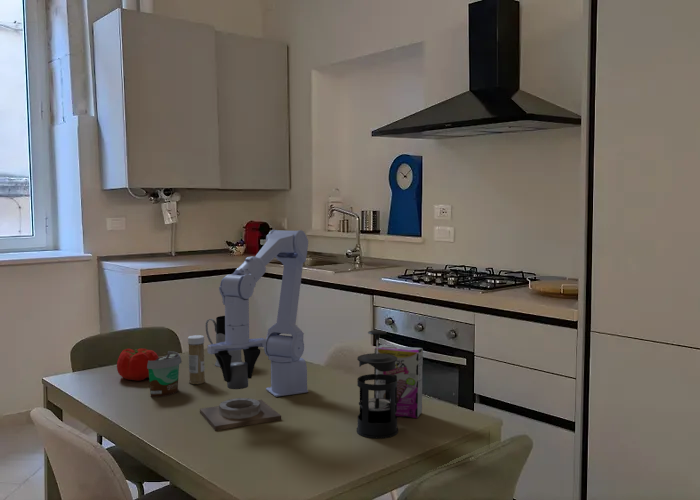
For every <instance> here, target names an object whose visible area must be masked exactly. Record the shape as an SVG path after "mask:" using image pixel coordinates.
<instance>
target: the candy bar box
mask: <svg viewBox="0 0 700 500" xmlns="http://www.w3.org/2000/svg"><path fill="white" fill-rule="evenodd" d="M374 353H377V346H376V347H375V348H374ZM378 353H381V354H390V355H393V356H396V357H397V361H396V362H395V369H393V370H391V371H385V372H382V371H379V370H378V374H385V375H389V374H392V375H396V376H397V412H396V413H395V415H396V416H397V417H401V418H409V419H411V418H412V419H418V418H419V417H420V416H421V414H422V413H423V362H424V361H423V359H424V358H423V357H424V355H423V354H424V349H423V347H412V346H402V345H401V346H400V345H390V344H378ZM373 369H374V372H373V374H376V368H374V367H373ZM373 382H374V383H373V385H376V380H374V381H373ZM382 384H385V380H378V385H382ZM373 398H376V391H374V392H373ZM378 398H385V390H383V391H378Z"/></svg>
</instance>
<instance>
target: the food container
mask: <svg viewBox="0 0 700 500" xmlns="http://www.w3.org/2000/svg"><path fill="white" fill-rule="evenodd" d="M158 357H159V358H158V359H156V360H155V361H148V364H147V369H148V370H149V378H148V379H149V381H148V382H149V391H150V394H149V395H150V397H151V398H159V397H161V398H162V397H167V396H172V395H175V394H176V393H178V390H179V389H178V388H179V375H180V372H179V371H180V364H182V362H183V361H182V358H181V355H180V353H179V352H176V351H174V350H173V351H171V350H168V351H167V354H166V355H164V356H158Z"/></svg>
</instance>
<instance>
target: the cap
mask: <svg viewBox="0 0 700 500" xmlns="http://www.w3.org/2000/svg"><path fill="white" fill-rule="evenodd" d="M230 377H231V378H230V382H226V384H227V386H226V388H227V389H229V390H243V389H246V388H248V387H249V379H248V363H246V362H245V361H242V362H231V365H230Z"/></svg>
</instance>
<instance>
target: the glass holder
mask: <svg viewBox="0 0 700 500" xmlns="http://www.w3.org/2000/svg"><path fill="white" fill-rule="evenodd" d="M210 321H212V323H213V326H214V332H215V344H216V343H220V342H225V315H220V316H217V317H216V319H213V318H209V319H207V320H206V322H205V332H206V333H205V334H206V337H207V339H208V342H209V343H210V345H211V344H214V343H213V341H212V339H211V337H210V334H209V330H208V327H209V326H208V325H209V324H208V323H209V322H210ZM228 353H229V355H231V356H232V358H231V362H243V360H242V350H235V351H228ZM215 358H216V357H215ZM214 366H215V367H217V368H218V367H219V368H221V367H220V364H219V362H218V360H217V358H216V360H215V364H214Z"/></svg>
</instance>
